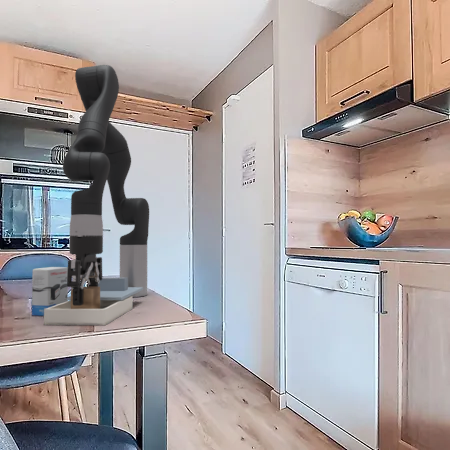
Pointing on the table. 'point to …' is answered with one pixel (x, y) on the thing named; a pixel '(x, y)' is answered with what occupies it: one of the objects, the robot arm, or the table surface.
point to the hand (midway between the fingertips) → (85, 302)
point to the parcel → (88, 298)
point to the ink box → (48, 288)
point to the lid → (115, 289)
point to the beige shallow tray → (87, 313)
